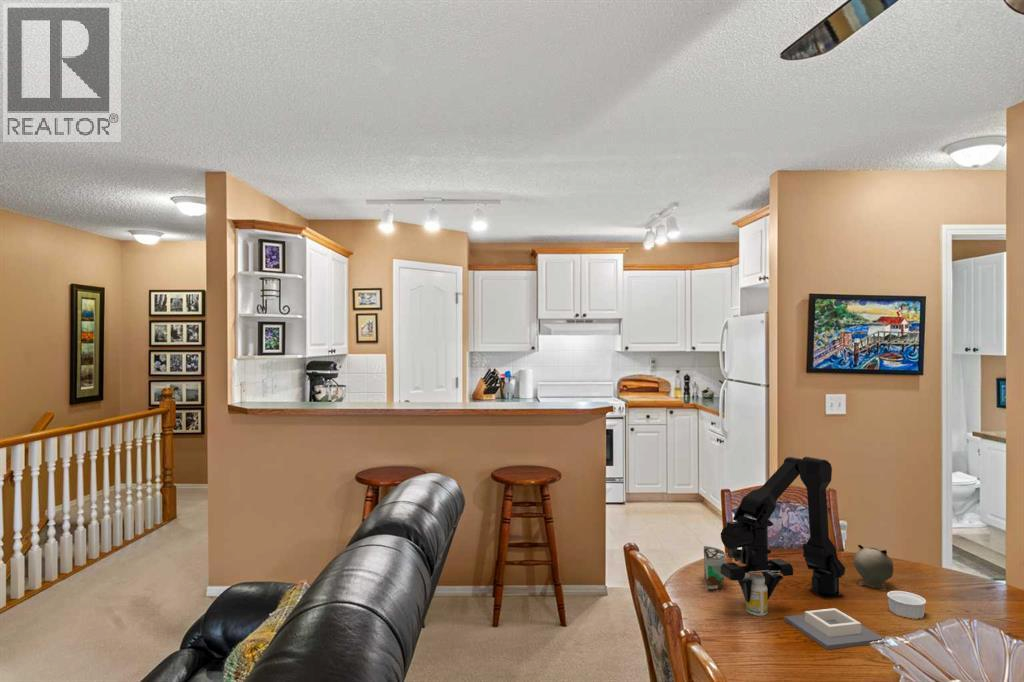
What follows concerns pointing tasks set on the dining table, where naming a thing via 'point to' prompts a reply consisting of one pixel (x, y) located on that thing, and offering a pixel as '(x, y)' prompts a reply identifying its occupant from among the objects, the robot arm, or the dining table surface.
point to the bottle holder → (832, 628)
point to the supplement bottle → (758, 596)
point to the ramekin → (906, 604)
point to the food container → (713, 568)
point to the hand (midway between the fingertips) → (756, 600)
